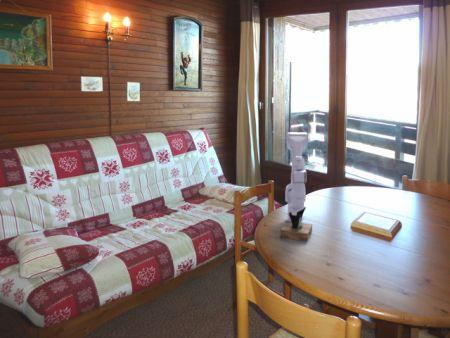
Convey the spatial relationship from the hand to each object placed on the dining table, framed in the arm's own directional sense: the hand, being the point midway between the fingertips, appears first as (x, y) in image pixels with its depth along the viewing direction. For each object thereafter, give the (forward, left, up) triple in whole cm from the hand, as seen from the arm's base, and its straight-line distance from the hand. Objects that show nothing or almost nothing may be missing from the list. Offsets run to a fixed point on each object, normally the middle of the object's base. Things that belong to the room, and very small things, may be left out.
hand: (296, 225), depth 178 cm
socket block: (0, 0, -4) cm, 4 cm away
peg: (0, 0, -4) cm, 4 cm away
